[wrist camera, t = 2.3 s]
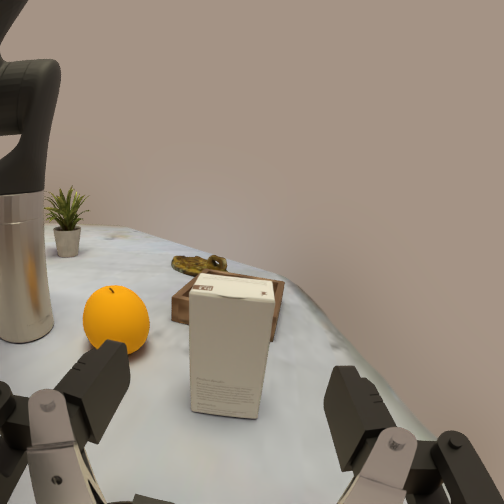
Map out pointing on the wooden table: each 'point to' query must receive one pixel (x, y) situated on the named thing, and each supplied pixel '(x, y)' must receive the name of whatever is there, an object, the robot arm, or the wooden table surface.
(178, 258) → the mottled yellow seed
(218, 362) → the skincare box
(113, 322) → the orange
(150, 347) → the wooden table surface
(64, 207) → the house plant
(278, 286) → the walnut box
